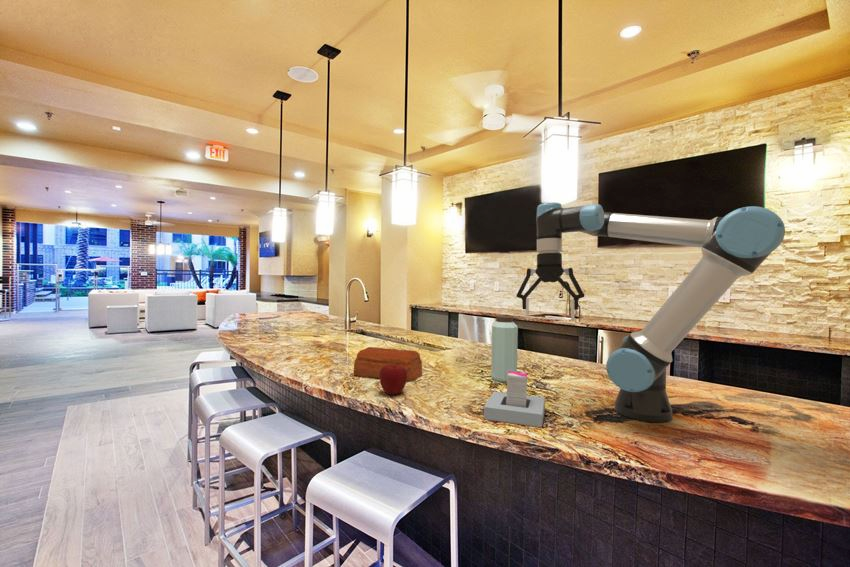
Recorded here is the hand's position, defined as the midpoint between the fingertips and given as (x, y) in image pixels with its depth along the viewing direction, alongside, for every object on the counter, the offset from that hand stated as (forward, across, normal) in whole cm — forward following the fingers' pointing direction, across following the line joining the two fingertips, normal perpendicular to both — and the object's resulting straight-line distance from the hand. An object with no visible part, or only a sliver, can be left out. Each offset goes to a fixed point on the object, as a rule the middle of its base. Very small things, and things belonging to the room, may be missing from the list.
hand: (549, 320), depth 122 cm
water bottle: (+27, +17, -28) cm, 42 cm away
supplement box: (+27, +10, +10) cm, 30 cm away
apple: (+26, +52, +3) cm, 58 cm away
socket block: (+27, +10, +10) cm, 31 cm away
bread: (+26, +63, -19) cm, 70 cm away
